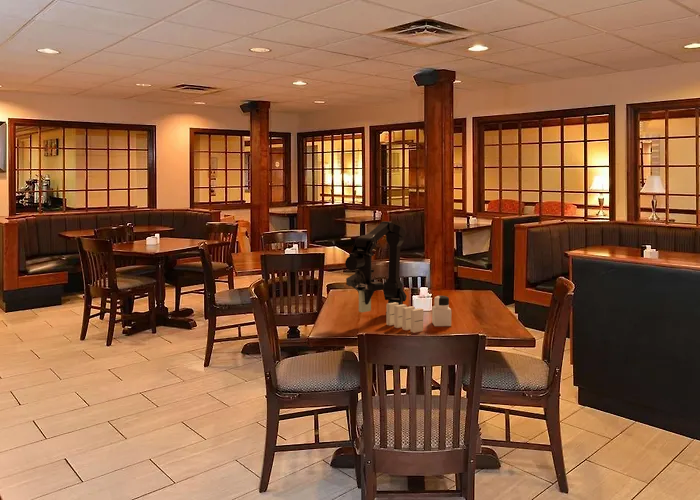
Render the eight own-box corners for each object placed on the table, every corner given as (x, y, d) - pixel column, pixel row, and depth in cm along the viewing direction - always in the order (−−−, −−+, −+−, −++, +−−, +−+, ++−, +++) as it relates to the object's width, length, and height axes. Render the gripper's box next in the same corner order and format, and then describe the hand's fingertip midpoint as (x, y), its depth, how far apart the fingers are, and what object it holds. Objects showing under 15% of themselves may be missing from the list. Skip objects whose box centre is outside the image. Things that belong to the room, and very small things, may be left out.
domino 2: (394, 327, 259) (394, 305, 258) (403, 325, 262) (403, 304, 261) (397, 327, 257) (397, 306, 256) (406, 326, 260) (406, 304, 259)
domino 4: (410, 331, 251) (410, 309, 250) (419, 329, 254) (419, 308, 253) (414, 332, 249) (414, 310, 248) (423, 330, 252) (423, 309, 251)
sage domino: (358, 311, 260) (358, 290, 259) (367, 309, 264) (367, 289, 262) (361, 312, 259) (361, 291, 258) (371, 310, 262) (371, 289, 261)
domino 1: (386, 324, 263) (386, 303, 262) (395, 322, 266) (395, 302, 265) (389, 325, 261) (389, 304, 260) (398, 323, 264) (398, 303, 263)
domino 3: (402, 329, 255) (402, 307, 254) (411, 327, 258) (411, 306, 257) (405, 330, 253) (405, 308, 252) (414, 328, 256) (414, 307, 255)
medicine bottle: (448, 322, 266) (448, 294, 265) (451, 326, 259) (451, 298, 258) (431, 322, 266) (431, 294, 265) (434, 326, 259) (434, 298, 257)
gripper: (335, 266, 261) (336, 302, 263) (363, 271, 247) (363, 310, 249) (356, 264, 268) (357, 299, 270) (385, 269, 253) (384, 306, 255)
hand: (364, 304), depth 261 cm, fingers closed on sage domino, 2 cm apart
